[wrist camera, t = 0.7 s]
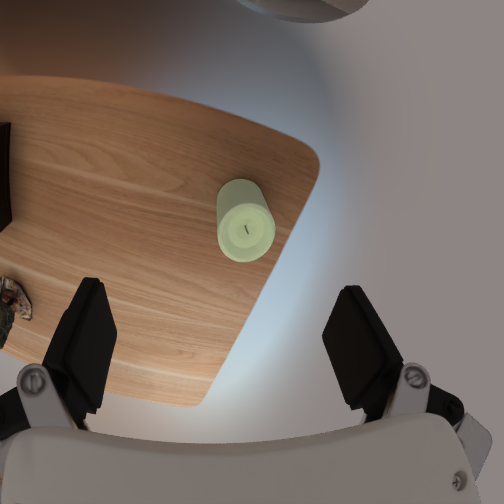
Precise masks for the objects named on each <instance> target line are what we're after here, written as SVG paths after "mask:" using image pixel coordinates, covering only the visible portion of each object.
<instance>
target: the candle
mask: <svg viewBox="0 0 504 504" xmlns="http://www.w3.org/2000/svg"><path fill="white" fill-rule="evenodd" d="M274 237H275V222H274V220H273V217H272V215H271V213H270V210H269V208H268V206H267V204H266V201H265V199H264V197H263V195H262V192H261V190H260V188H259V187H258V186H257V185H256V184H255V183H253V182H252V181H249V180H246V179H235V180H232V181H230V182H227V183H226V184H225V185H224V186H223V187H222V188H221V189H220V191H219V193H218V195H217V238H218V243H219V246H220V248H221V250H222V252H223V253H224V254H225V255H226V256H227V257H229V258H230V259H232V260H234V261H238V262H250V261H253V260H256V259H258V258H259V257H261V256H263V255H264V254H265V253H266V252H267V251H268V249H269V248H270V246H271V245H272V243H273V240H274Z"/></svg>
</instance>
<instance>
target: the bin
mask: <svg viewBox="0 0 504 504" xmlns="http://www.w3.org/2000/svg"><path fill="white" fill-rule="evenodd" d="M10 127H11V123H0V232H1V231H3V230H4V229H5V228H6V227H7V226H8V225H9V224H10V223H11V222H12V215H11V204H10V189H9V141H10Z"/></svg>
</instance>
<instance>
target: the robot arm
mask: <svg viewBox="0 0 504 504" xmlns="http://www.w3.org/2000/svg"><path fill="white" fill-rule="evenodd" d="M116 338H117V329H116V326H115V323H114V320H113V316H112V313H111V309H110V306H109V302H108V299H107V295H106V291H105V287H104V284H103V282H100V280H99V279H98V278H90V277H85V278H83V280H82V282H81V284H80V286H79V287H78V289H77V291H76V293H75V295H74V297H73V299H72V301H71V303H70V305H69V307H68V309H67V310H65V312H64V313H63V315H62V317H61V320H60V322H59V324H58V326H57V328H56V331H55V333H54V335H53V338H52V340H51V342H50V345H49V347H48V350H47V352H46V355H45V357H44V360H43V363H42V365H40V364H35V363H32V364H29V365H27V366H25V367H24V368H23V369H22V370H21V371H20V372H19V374H18V377H17V386H16V387H15V388H13V389H11V390H9V391H8V392H6V393H4V394H3V395H1V396H0V504H481V500H480V496H479V492H478V489H477V485H476V482H475V481H476V479H477V477H478V475H479V473H480V471H481V469H482V467H483V465H484V463H485V460H486V458H487V456H488V453H489V451H490V449H491V446H492V437H491V434H490V433H489V431H488V430H486V429H485V428H484V427H483V426H482V425H481V424H480V423H479V422H478V421H476V420H475V419H474V418H473V417H472V416H471V415H470V414H469V413H465V414H464V406H463V404H462V402H461V401H460V400H459V398H457V397H456V396H454V395H452V394H450V393H448V392H446V391H444V390H442V389H440V388H438V387H436V386H434V385H432V384H430V376H429V373H428V372H427V370H426V369H425V368H424V367H423V366H421V365H419V364H417V363H407V364H405V365H404V364H403V363H402V362H403V358H402V356H401V355H400V353H399V351H398V349H397V347H396V346H395V344H394V342H393V340H392V338H391V337H390V335H389V333H388V331H387V330H386V328H385V326H384V324H383V323H382V321H381V319H380V318H379V316H378V314H377V313H376V311H375V309H374V308H373V306H372V304H371V303H370V301H369V299H368V298H367V296H366V295H365V293H364V291H363V290H362V288H361V287H360V286H358V285H353V286H345V287H344V289H342V290H341V291H340V293H339V296H338V298H337V301H336V303H335V306H334V308H333V310H332V313H331V315H330V317H329V320H328V322H327V324H326V327H325V329H324V331H323V334H322V339H323V342H324V345H325V348H326V350H327V353H328V356H329V358H330V361H331V364H332V366H333V369H334V372H335V375H336V377H337V380H338V383H339V385H340V388H341V391H342V394H343V397H344V400H345V402H346V404H348V405H350V408H351V410H356V409H360V408H363V410H364V415H363V417H362V420H361V422H360V424H359V425H357V426H353V427H348V428H344V429H340V430H335V431H330V432H326V433H320V434H315V435H309V436H303V437H296V438H289V439H281V440H273V441H263V442H250V443H229V444H228V443H227V444H195V443H193V444H192V443H172V442H159V441H150V440H141V439H133V438H126V437H119V436H113V435H107V434H101V433H96V432H92V431H91V430H90V428H89V426H88V425H87V423H86V421H85V418H86V413H91V414H96V411H97V408H100V407H101V404H102V399H103V394H104V389H105V384H106V379H107V375H108V370H109V366H110V362H111V358H112V354H113V350H114V346H115V342H116Z"/></svg>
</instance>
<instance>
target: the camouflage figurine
mask: <svg viewBox="0 0 504 504" xmlns="http://www.w3.org/2000/svg"><path fill="white" fill-rule="evenodd" d="M30 307H32V306H31V304H30V303H29V302H28V300H27V298H26V295H25V294H24V293H23V291H22V289H21V287H20V286H19V284H18V283H17V282H14V281H13V280H11V281H10V279H7V278H6V277H5V275H3V277H1V278H0V349H2V348H3V347H4V344H5V341H6V340H7V337H8V334H9V331H10V330H11V328H12V324H13V322H14V316H17V317H20V318H22V319H25V320H28V321H30V320H31V308H30Z"/></svg>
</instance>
